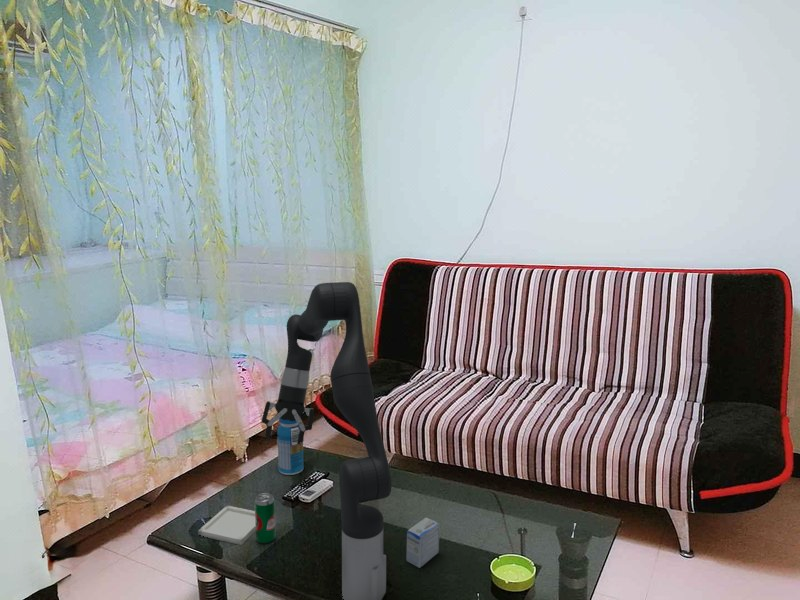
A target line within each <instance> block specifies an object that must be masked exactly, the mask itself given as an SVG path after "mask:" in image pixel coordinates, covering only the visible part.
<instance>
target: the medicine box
mask: <svg viewBox="0 0 800 600" xmlns="http://www.w3.org/2000/svg"><path fill="white" fill-rule="evenodd" d="M439 544H440V522H437V521H435V520H434V519H431V518H430V517H429V518H428V517H424V518H423V519H422V520H420V521H419V522H417V523H416V524H414V525H413V526H412V527H411V528H409V529H408V530H407V531H406V558H405V559H406V562H408V563H409V564H412V565H413V566H415V567H416V568H419V569H420V568H421V567H422V568H423V566H424V565H425V564H427V563H428V562H429V561H430V560H432V558H434V557H435V556H436V555H437V554H439V553H440V552H439V550H440V545H439Z"/></svg>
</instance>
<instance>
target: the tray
mask: <svg viewBox="0 0 800 600" xmlns="http://www.w3.org/2000/svg"><path fill="white" fill-rule="evenodd" d="M197 532H198V536H199V535H201V536H200V537H203V536H204V537H203V538H207V537H208V538H209V539H213V540H217V541H220V542H224V543H225V542H226V543H230V544H234V545H238V546H242V545H243V544H244V543H246V541H248V539H249V538H251V536H252V535H253V534H254V533H256V528H255V510H250V509H246V508H241V507H236V506H232V505H225V506H224V507H223V508H222V509H221V510H219V511H218V513H216V515H214V516H213V517H212V518H210V519H209V520H208V521H207V522H206V523H205V524H204V525H203V526H201V527H200V529H198V531H197ZM208 538H207V539H208Z"/></svg>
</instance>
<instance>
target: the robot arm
mask: <svg viewBox="0 0 800 600" xmlns="http://www.w3.org/2000/svg"><path fill="white" fill-rule="evenodd" d="M360 303H361V302H360V297H359V293H358V290H357V287H356V285H355V284H354V283H353V282H351V281H350V282H349V281H348V282H347V281H340V282H322V283H318V284H316V285H315V286H314V287H313V289H312V291H311V293H310V295H309V298H308V301H307V304H306V309H305V310H304V311H303V312H302V313H301V314H291V316H290V317H289V318H288V319H287V321H286V335H287V355H286V360H285V366H284V369H283V373H282V377H281V381H280V382H281V383H280V387H279V393H278V398H277V401H276V402H271V401H269V400H266V402H265V405H264V410H263V413H262V418H261V423H263V424H264V425H266V431H265V438H266V440H267V441H270V439H271V433H272V430H273V429H272V428H273V425H274V424H275V423H276V422H278V421H279V418H281V419H282V420H289V421H295V420H296V421H297V423H298V425H299V427H300V431H299V436H298V442H297V444H300V442H301V443H302V442H303V443H304V441H303V438H304V437H305V432H307V431H312V428H313V424H314V423H313V422H314V415H315V414H314V413H315V410H314V408H313V407H310V408H309V407H308V408H307V407H306V408H305V402H306V398H307V397H306V396H307V390H308V386H309V380H310V379H309V378H310V370H311V365H312V360H313V353H312V351H310V350H309V349H306V348H303V347H302V346H300V344H299V342H298V340H300V341H305V342H311V343H315V342H318V341H320V340H321V339H322V336H323V332H324V329H325V327H326V326H328V323H329V322H331V321H332V322H333V321H344V322H345V328H346V329H345V335H344V339H343V342H342V344H341V347H340V350H339V352H338V353H337V356H336V358H335V360H334V363H333V365H332V367H331V371H330V382H331V389H332V390H331V391H332V396H333V402H334V404H335V406H336V407H337V409H338V411H339V412H340V413H341V414H342V415H343V417H344V418H345V419H346V420H347V422H348V423H350V425H351V426H352V427H353V428H354V429H355V431H356V432H357V433H358V435H359V436H360V438H361V439H362V442H363V443H364V446H365V449H366V451H367V455H368V456H366V457H364V456H363V457H358V458H352V459H347V460H344V461H342V463H341V464H340V467H339V474H338V476H339V477H338V480H339V481H338V482H339V494H340V497H339V498H340V516H341V517H340V518H341V519H340V520H341V591H342V593H341V597H342V596H343V597H342V600H343V599H344V600H383V598H384V596H385V595H386V593H387V555H386V554H384V515H383V514H382V512H381V511H380V510H379V509H377V508H376V507H374V506H371V505H367V504H362V503H366V502H367V503H368V502H371V501H372V502H373V501H377V500H382V499H387V498H388V497H389V496H390V495H391V493H392V475H391V469H390V465H389V461H388V457H387V454H386V449H385V444H384V442H383V441H384V440H383V438H382V434H381V428H380V425H379V418H378V414H377V407H376V401H375V400H376V399H375V393H374V387H373V382H372V375H371V371H370V367H369V362H368V357H367V352H366V347H365V346H366V345H365V340H364V333H363V324H362V314H361V313H362V312H361V305H360ZM273 408H274V409H275V410H276V414H275V415H273V417H271V418H270V419H268V415H269V411H272V409H273ZM304 413H306V414H305V415H306V416H308V420H307V425H305V424H304V422H303V420H302V418H301V416H302V415H304ZM304 439H305V438H304Z"/></svg>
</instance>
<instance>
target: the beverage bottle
mask: <svg viewBox="0 0 800 600" xmlns="http://www.w3.org/2000/svg"><path fill="white" fill-rule="evenodd" d="M278 422H279V426H278V428H277V431H276V433H277V434H276V435H277V437H276V444H277V453H278V455H277V459H278V461H277V463H278V468H277V469H278V472H279V473H280V474H282V475H285V476H292V475H293V476H294V475H298V474H299V473H302V472H303V470H304V468H305V464H304V439H305V438H303V442H302V443H301V442H300V444H297V442H298V436H299V431H300V427H299V425H298V423H297V421H296V420H295V421H289V420H282V419H281V418H279V419H278Z"/></svg>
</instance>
